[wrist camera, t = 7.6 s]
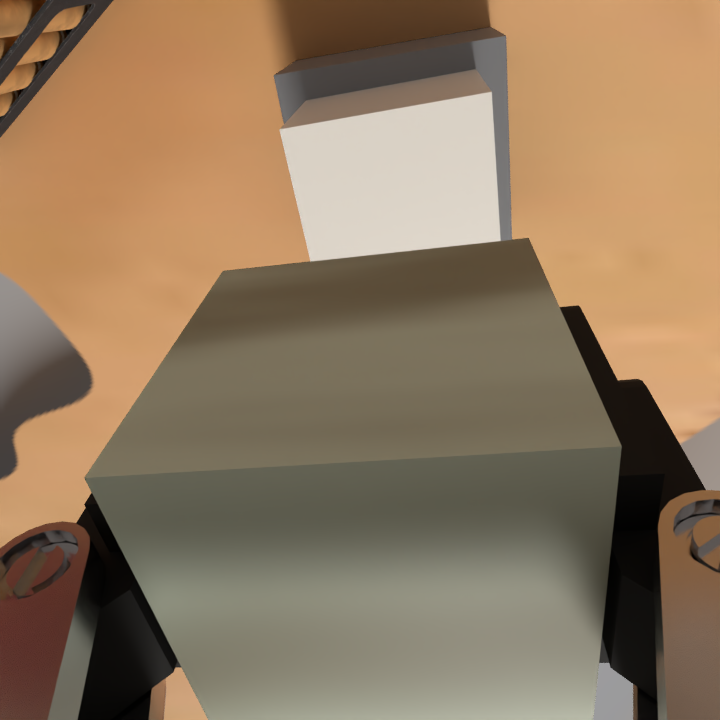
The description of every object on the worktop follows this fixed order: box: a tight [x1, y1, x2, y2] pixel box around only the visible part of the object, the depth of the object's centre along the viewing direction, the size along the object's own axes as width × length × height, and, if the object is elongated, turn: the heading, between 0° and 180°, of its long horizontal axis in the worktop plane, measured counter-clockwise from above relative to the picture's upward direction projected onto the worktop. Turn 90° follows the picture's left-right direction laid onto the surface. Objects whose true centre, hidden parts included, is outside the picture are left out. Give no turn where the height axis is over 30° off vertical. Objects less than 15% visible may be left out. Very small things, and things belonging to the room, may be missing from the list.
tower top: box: [279, 69, 501, 261], centre depth 20 cm, size 6×6×5 cm
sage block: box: [85, 238, 622, 720], centre depth 9 cm, size 5×5×5 cm
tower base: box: [274, 27, 512, 241], centre depth 25 cm, size 8×8×5 cm
